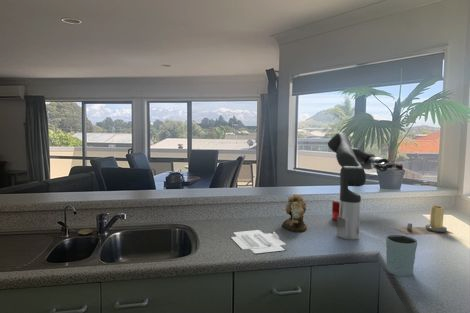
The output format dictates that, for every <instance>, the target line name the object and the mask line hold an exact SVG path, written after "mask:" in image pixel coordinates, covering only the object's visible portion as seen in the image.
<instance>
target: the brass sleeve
mask: <svg viewBox="0 0 470 313" xmlns="http://www.w3.org/2000/svg"><path fill="white" fill-rule="evenodd" d="M444 210H445V207H443V206H440V205H430V213H429V214H430V215H429V224H430V227H432V228H436V229H442V228H443V227H444V226H443V225H444V224H443V223H444V212H445V211H444Z"/></svg>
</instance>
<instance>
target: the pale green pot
mask: <svg viewBox="0 0 470 313" xmlns="http://www.w3.org/2000/svg"><path fill="white" fill-rule="evenodd" d="M385 237H386V238H385V243H386V244H385V245H386V246H385V247H386V253H385V254H386V256H385V257H386V270H387V272H388V273H390V274H392V275H394V276H398V277H411V276H412V275H413V274H414V264H415V260H416V253H417V252H416V251H417V246H418V240H417V239H416V238H413V237H412V236H411V237H410V236H409V235H403V234H402V235H401V234H390V235H386V236H385Z"/></svg>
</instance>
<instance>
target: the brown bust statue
mask: <svg viewBox="0 0 470 313" xmlns="http://www.w3.org/2000/svg"><path fill="white" fill-rule="evenodd" d="M287 200H288V201H287V203H286V206H285V212H286V214H287V215H289V216H290V217H289V218H288V219H285V220H284V221H283V222H282V226H281V227H283V229H284V230H286V231H288V232H293V233H303V232H306V231H307V229H308V226H307V225H306V224H305V222H304V218H305V217H304V214H305V213H306V211H307V204H306V202H305V200H304V198H303V196H302V195H301V194H299V193H294V194H293V195H291V196H289V197H288V199H287Z"/></svg>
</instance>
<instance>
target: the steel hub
mask: <svg viewBox="0 0 470 313" xmlns="http://www.w3.org/2000/svg"><path fill="white" fill-rule="evenodd" d="M424 227H425V229H426V230H428V231H431V232H436V233H446V232H447V231H448V228H447V227H446V226H443V228H442V229H436V228H432V227H430V223H429V224H425V226H424Z"/></svg>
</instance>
